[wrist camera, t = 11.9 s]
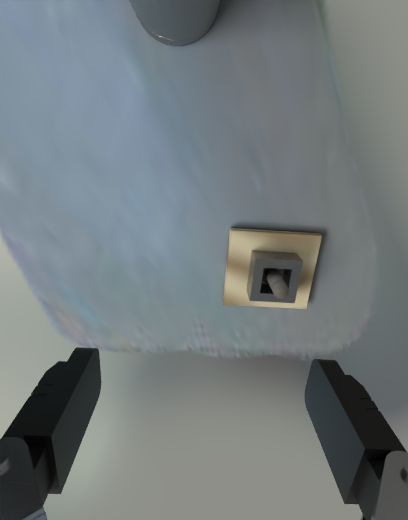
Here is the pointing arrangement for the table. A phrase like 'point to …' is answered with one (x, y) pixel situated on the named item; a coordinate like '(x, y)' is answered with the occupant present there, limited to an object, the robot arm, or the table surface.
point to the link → (278, 261)
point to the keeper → (268, 241)
